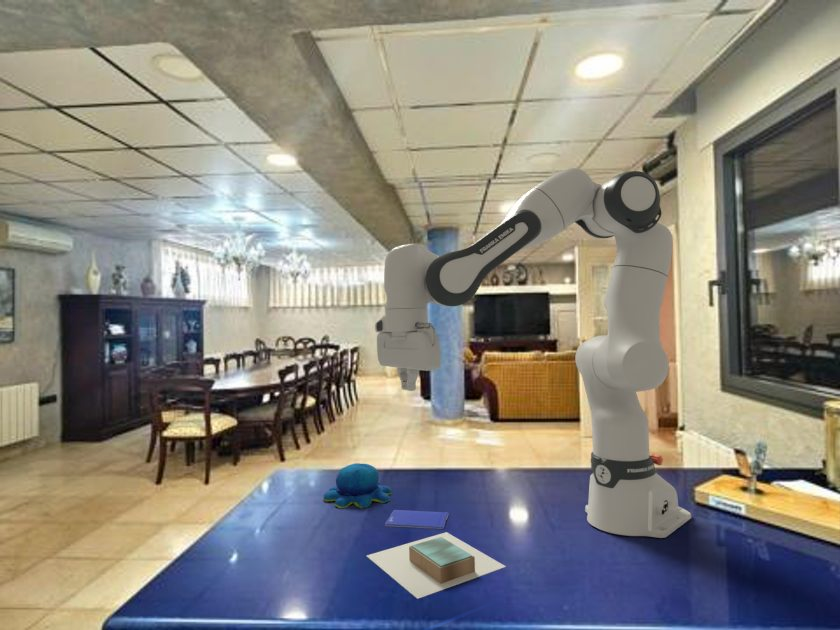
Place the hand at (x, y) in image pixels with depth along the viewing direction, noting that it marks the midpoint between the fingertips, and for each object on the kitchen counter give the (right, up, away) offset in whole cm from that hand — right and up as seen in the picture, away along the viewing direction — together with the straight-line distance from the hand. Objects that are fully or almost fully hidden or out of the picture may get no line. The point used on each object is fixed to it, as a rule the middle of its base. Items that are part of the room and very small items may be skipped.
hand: (408, 390), depth 106 cm
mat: (+5, -29, -14) cm, 33 cm away
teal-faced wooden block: (+3, -27, -12) cm, 30 cm away
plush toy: (-13, -30, +23) cm, 40 cm away
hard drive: (+2, -30, +5) cm, 30 cm away
